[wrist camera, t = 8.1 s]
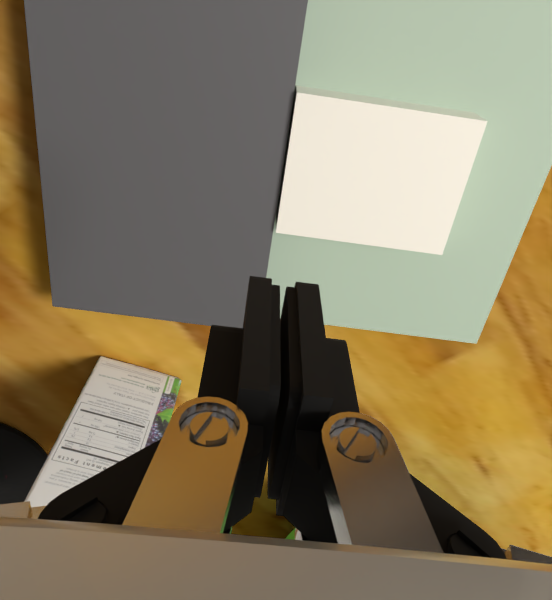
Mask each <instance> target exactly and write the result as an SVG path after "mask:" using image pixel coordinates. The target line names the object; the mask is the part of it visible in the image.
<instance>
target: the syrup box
mask: <svg viewBox="0 0 552 600" xmlns="http://www.w3.org/2000/svg"><path fill="white" fill-rule="evenodd" d="M180 385H181V380H180V379H179V378H177V377H173V376H170V375H167V374H163V373H160V372H156V371H153V370H149V369H146V368H143V367H139V366H135V365H132V364H128V363H124V362H121V361H117V360H114V359H110V358H107V357H103V356H100V357H99V359H98V361H97V363H96V365H95V367H94V369H93V370H92V372H91V374H90V376H89V378H88V380H87V382H86V384H85V386H84V388H83V389H82V391H81V393H80V395H79V397H78V399H77V401H76V403H75V405H74V407H73V409H72V411H71V413H70V415H69V416H68V418H67V420H66V422H65V424H64V426H63V428H62V430H61V432H60V434H59V436H58V438H57V440H56V442H55V444H54V446H53V448H52V449H51V451H50V453H49V455H48V457H47V459H46V461H45V463H44V464H43V466H42V468H41V470H40V472H39V474H38V476H37V478H36V480H35V482H34V484H33V486H32V487H31V489H30V491H29V493H28V495H27V497H26V499H25V501H24V502H27V501H30V504H31V507H39V506H47V504H48V503H49V502H50V501H52V500H53V499H54V498H56V497H57V496H59V495H60V494H61V493H63V492H65V491H67V490H69V489H70V488H72V487H74V486H76V485H78V484H80V483H81V482H83V481H85V480H87V479H89V478H90V477H92V476H94V475H96V474H98V473H100V472H101V471H103V470H105V469H107V468H109V467H110V466H112V465H114V464H116V463H118V462H120V461H121V460H123V459H125V458H127V457H129V456H130V455H132V454H134V453H136V452H138V451H140V450H141V449H143V448H145V447H147V446H149V445H150V444H152V443H154V442H156V441H158V440H160V439H161V438H162V437H163V435H164V432H165V430H166V428H167V426H168V424H169V421H170V419H171V416H172V412H173V409H174V405H175V402H176V398H177V395H178V391H179V388H180Z"/></svg>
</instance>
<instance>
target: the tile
mask: <svg viewBox="0 0 552 600" xmlns="http://www.w3.org/2000/svg"><path fill="white" fill-rule="evenodd" d="M487 122H488V121H487V120H485V119H483V118H482V117H480V116H479V115H477V114H476V113H474V112H468V111H462V110H455V109H449V108H442V107H436V106H429V105H423V104H416V103H409V102H403V101H396V100H390V99H383V98H377V97H370V96H363V95H357V94H350V93H344V92H337V91H331V90H324V89H318V88H311V87H304V86H298V85H296V89H295V96H294V102H293V109H292V116H291V122H290V129H289V136H288V142H287V149H286V156H285V162H284V169H283V176H282V182H281V189H280V196H279V202H278V209H277V216H276V233H281V234H289V235H296V236H304V237H311V238H319V239H326V240H333V241H341V242H348V243H356V244H363V245H371V246H378V247H385V248H393V249H400V250H408V251H415V252H423V253H430V254H437V255H442V254H443V251H444V248H445V245H446V243H447V240H448V237H449V234H450V231H451V228H452V225H453V222H454V219H455V216H456V213H457V210H458V207H459V204H460V201H461V198H462V195H463V192H464V190H465V187H466V184H467V181H468V178H469V175H470V172H471V169H472V166H473V163H474V160H475V157H476V154H477V151H478V148H479V145H480V142H481V139H482V136H483V134H484V131H485V128H486V125H487Z"/></svg>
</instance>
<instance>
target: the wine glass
mask: <svg viewBox="0 0 552 600" xmlns="http://www.w3.org/2000/svg"><path fill="white" fill-rule="evenodd" d="M47 457H48V455H47V454H46V453H45V451H44V450H43V449H42V448H41V447H40V446H39V445H38V444H37V443H36V442H35V441H33V440H32V439H31V438H29V437H28V436H27V435H25V434H23V433H21V432H20V431H18V430H16V429H14V428H12V427H9V426H7V425H4V424H1V423H0V504H9V503H18V502H24V501H25V499H26V497H27V495H28V493H29V491H30V489H31V487H32V486H33V484H34V482H35V480H36V478H37V476H38V474H39V472H40V470H41V468H42V466H43V464H44V463H45V461H46V459H47Z"/></svg>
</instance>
